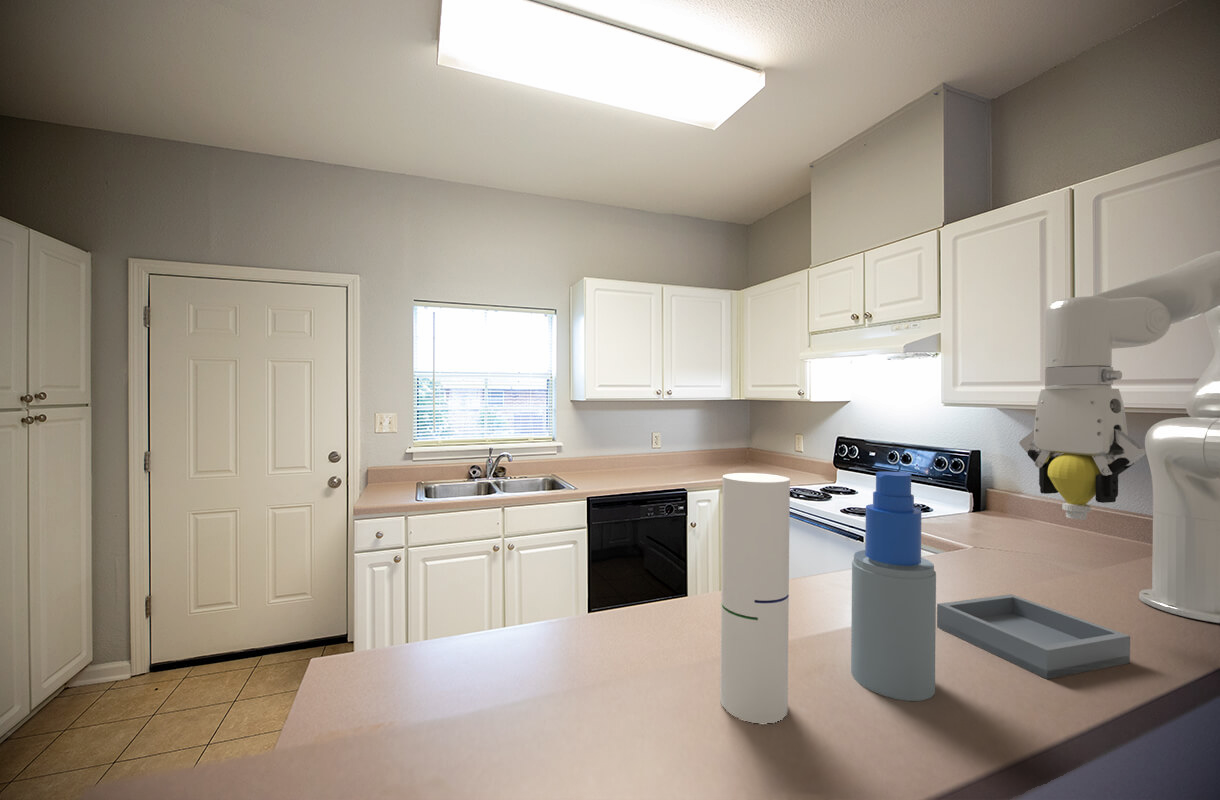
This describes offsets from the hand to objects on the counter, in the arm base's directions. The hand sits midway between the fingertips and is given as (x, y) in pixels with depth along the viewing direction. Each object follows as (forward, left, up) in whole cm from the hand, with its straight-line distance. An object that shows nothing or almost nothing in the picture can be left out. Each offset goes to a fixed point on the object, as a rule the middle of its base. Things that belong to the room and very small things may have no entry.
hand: (1076, 496), depth 78 cm
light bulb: (0, 0, -4) cm, 4 cm away
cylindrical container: (+59, +5, -20) cm, 62 cm away
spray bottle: (+40, +5, -20) cm, 45 cm away
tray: (+14, +2, -20) cm, 24 cm away
